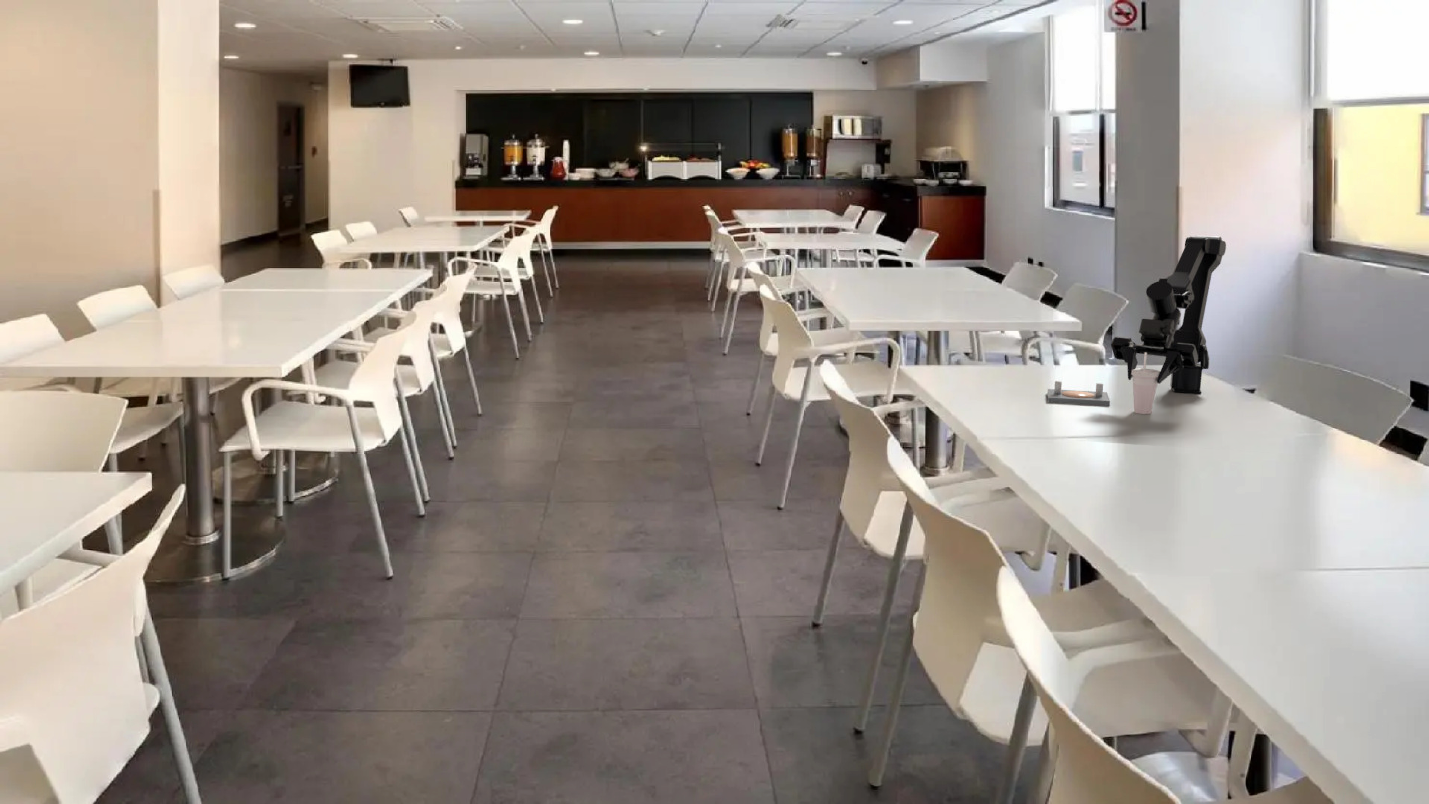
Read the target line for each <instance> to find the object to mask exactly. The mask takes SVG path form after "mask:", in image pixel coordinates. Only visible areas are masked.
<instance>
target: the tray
mask: <svg viewBox="0 0 1429 804" xmlns="http://www.w3.org/2000/svg"><path fill="white" fill-rule="evenodd" d="M1062 383H1063V381H1061V380H1055V381H1054V387H1053V388H1047V393H1046V394H1047V402H1048V403H1051V404H1053V403H1054V404H1071V405H1087V406H1104V407H1110V405H1111V404H1110V403H1111V400H1110V397H1109V394H1108V392H1107V391H1106V392H1105V391H1104V383H1102V382H1101V383H1100V382H1097V383H1095V391H1089V390H1076V389H1075V390H1071V389H1062Z"/></svg>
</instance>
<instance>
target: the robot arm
mask: <svg viewBox="0 0 1429 804" xmlns="http://www.w3.org/2000/svg"><path fill="white" fill-rule="evenodd" d="M1184 242H1185V243H1184V249H1183V251H1182V252H1181V255H1180V257H1179V259H1178V262H1177V264H1176V266H1175V268H1174V271H1173V272H1172V274H1171V275H1168V276H1167V277H1165V278H1164V277H1160V278H1159V280H1158V281H1156V282H1155V281H1154V282H1153V283H1151V284H1150V285H1149V286H1147V288H1146V289H1145V291H1146V292H1145V293H1146V297H1147V301H1148V305H1149V308H1150V311H1151V313H1153V317H1152V319H1151V318H1141V321H1140V326H1139V328H1138V333H1139V334H1141V336H1140V341H1141V343H1142V344H1139V343H1135V342H1133V341H1132V340H1133V339H1132V338H1131V337H1125V336H1115V337H1113V338H1112V340H1111V343H1110V346H1111V349H1112V354H1113V357H1114V358H1115V359H1116V360H1121V361H1124V362H1125V364H1126V365H1127V380H1128V381H1131V380H1132V379H1133V375H1131V373H1132V370H1133V369H1137V365H1138V360H1137V356H1138V354H1139V355H1144V353H1145V352H1147V356H1152V357H1160V358H1165V360H1164V362H1163V364H1162V367H1161V369H1160V370H1159V371H1160V373H1159V376H1158V379H1157V382H1158V384H1161V383H1162V382H1163V381H1165V380H1166V379H1167V378H1168V377H1169V376H1170V385H1169V386H1170V388H1171V390H1172V391H1173V392H1174V393H1191V394H1202V390H1201V385H1202V375H1203V370H1209V368H1210V355H1209V350H1208V347H1207V340H1206V337H1205V335H1204V333H1203V330H1202V328H1203V322H1204V317H1205V312H1206V307H1207V306H1206V305H1207V300H1208V295H1209V291H1210V290H1209V289H1210V285H1211V279H1212V274H1213V272H1214V271H1215V270H1216V269H1217V268H1218V267H1219V266H1220V265H1221V263H1222V258H1223V256H1225V254H1226V251H1227V243H1226V241H1225V240H1223V239H1222V236H1216V235H1215V236H1213V235H1194V236H1191V235H1190V236H1187V237H1186V238H1185V241H1184ZM1179 309H1183V310H1184V314H1183V320H1182V324H1181V325H1180V321H1181V320H1180V318H1181V316H1182V313H1181V310H1179ZM1179 325H1180V327H1179V328H1178V329H1177V327H1178V326H1179ZM1158 384H1157V385H1158Z"/></svg>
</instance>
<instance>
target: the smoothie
mask: <svg viewBox="0 0 1429 804" xmlns="http://www.w3.org/2000/svg"><path fill="white" fill-rule="evenodd" d="M1147 358H1148V355H1147V352H1145V353H1144V354H1143V366H1142V368H1136V369H1133V370H1132V373H1131V375H1133V377H1132V391H1133V392H1132V393H1133V395H1132V396H1133V410H1134V411H1133V412H1134V413H1135V414H1141V415H1149V414H1151V413H1152V410H1153V405H1154V401H1155V398H1156V391H1157V387H1158V382H1157V379H1158V376H1159V373H1160V371H1161V370H1158V369H1152V368H1147V360H1148V359H1147Z"/></svg>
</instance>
